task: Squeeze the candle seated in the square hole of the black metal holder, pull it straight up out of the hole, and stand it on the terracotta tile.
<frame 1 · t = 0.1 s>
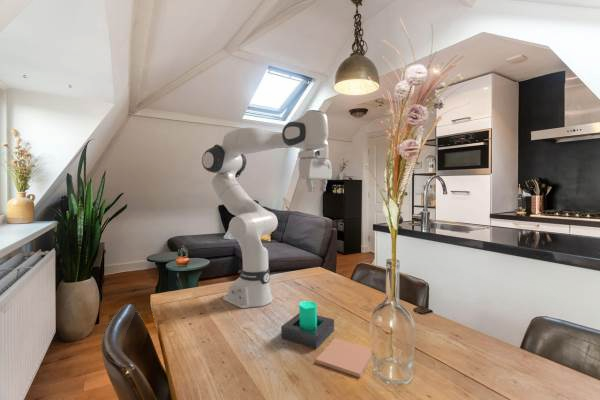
hand: (317, 191, 109), 48 cm above the table, fingers open, 8 cm apart
holder: (308, 334, 98), on the table
tile: (346, 357, 84), on the table
candle: (308, 335, 98), resting in holder
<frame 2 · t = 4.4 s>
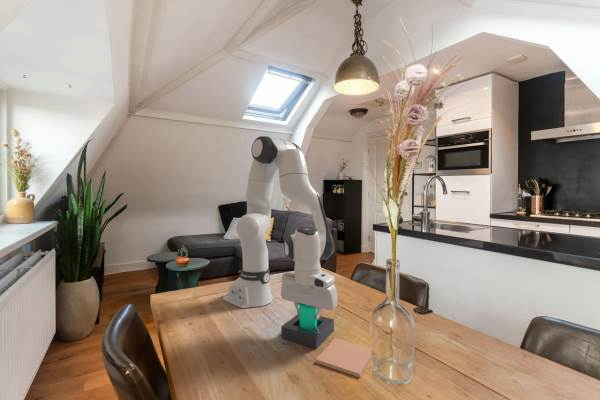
hand: (308, 316, 97), 6 cm above the table, fingers closed on candle, 5 cm apart
candle: (308, 335, 98), resting in holder, touching gripper
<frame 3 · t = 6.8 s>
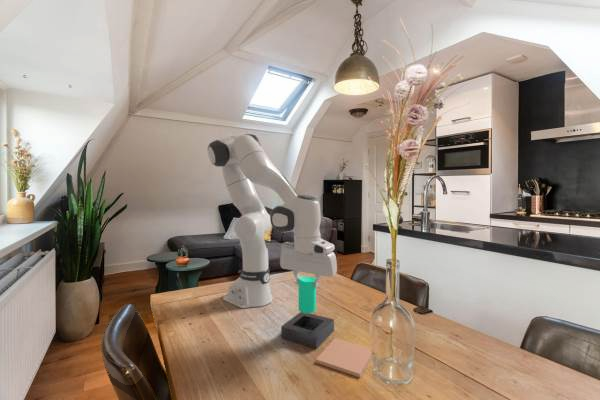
hand: (307, 285, 97), 17 cm above the table, fingers closed on candle, 5 cm apart
candle: (307, 310, 98), point 8 cm above the table, touching gripper
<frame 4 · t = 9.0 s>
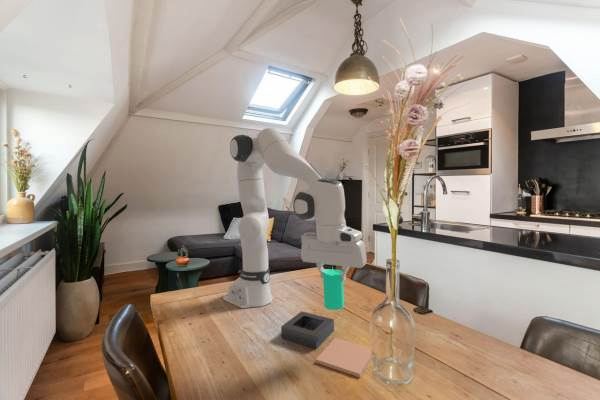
hand: (333, 278, 87), 22 cm above the table, fingers closed on candle, 5 cm apart
candle: (334, 306, 87), point 14 cm above the table, touching gripper
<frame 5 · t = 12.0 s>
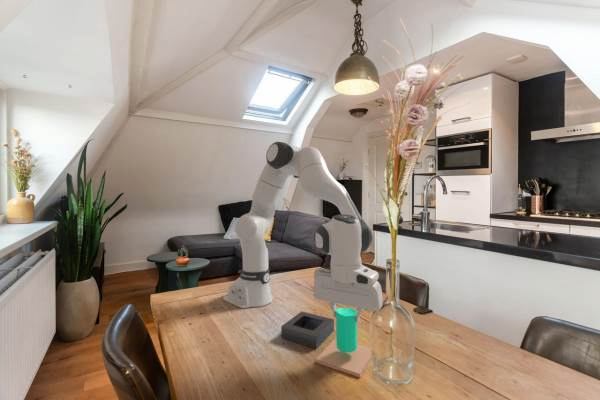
hand: (346, 318, 84), 11 cm above the table, fingers closed on candle, 5 cm apart
candle: (346, 347, 84), point 3 cm above the table, touching gripper
when the fingers open (9 cm above the table, at t = 14.0 s): candle stays where it is, resting on tile.
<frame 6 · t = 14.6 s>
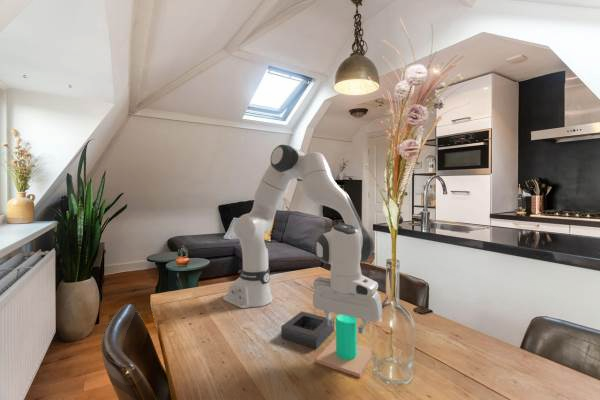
hand: (346, 328, 84), 9 cm above the table, fingers open, 8 cm apart
candle: (346, 354, 84), point 1 cm above the table, touching tile
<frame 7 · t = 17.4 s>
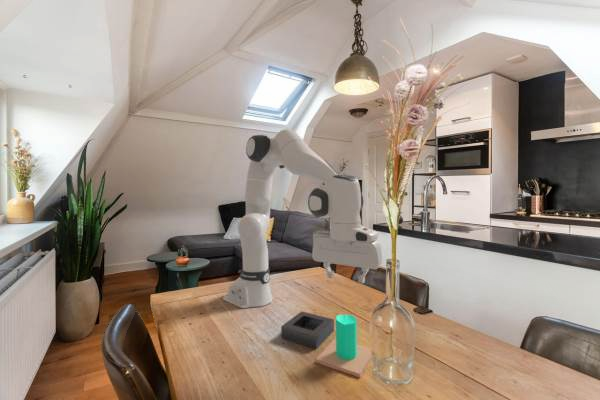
hand: (345, 279, 83), 23 cm above the table, fingers open, 8 cm apart
nothing on the table moved.
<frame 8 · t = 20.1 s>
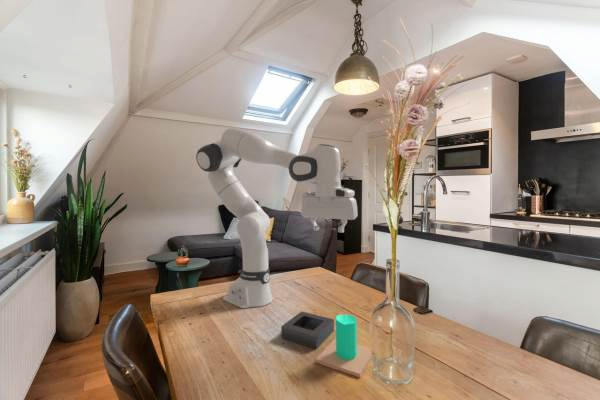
hand: (328, 231, 101), 34 cm above the table, fingers open, 8 cm apart
nothing on the table moved.
at the end: candle inside the target area on the tile (0.2 cm from its centre), point 0.8 cm above the tile's base; candle tilted 0°; the gripper is holding nothing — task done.
